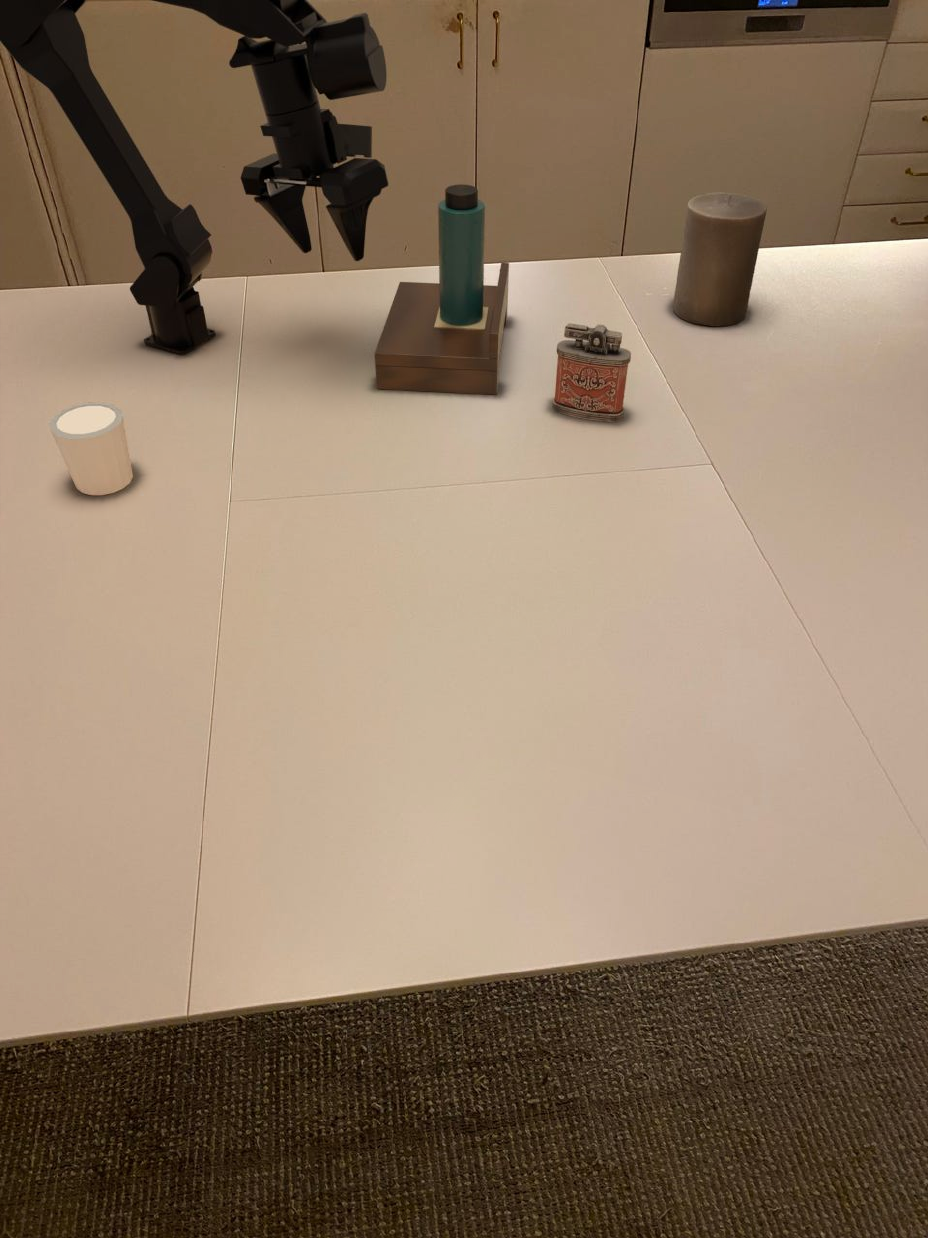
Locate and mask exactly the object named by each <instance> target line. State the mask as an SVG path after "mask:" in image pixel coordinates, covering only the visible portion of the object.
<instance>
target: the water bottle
mask: <svg viewBox="0 0 928 1238" xmlns="http://www.w3.org/2000/svg"><path fill="white" fill-rule="evenodd" d="M437 208H438V209H437V216H438V217H437V223H438V225H437V226H438V227H437V228H438V283H439V295H440V318H441V320H442V321H444V322H445V323H448V324H451V325H457V326H466V325H472V324H475V323H478V322H479V321H481V320H482V318H483V290H484V285H485V284H484V282H485V280H484V279H485V278H484V277H485V231H486V230H485V228H486V227H485V225H486V223H485V221H486V220H485V219H486V204H485V203H484V201H482V200H481V199H479V190H478V188H477V187H476V186H474V185H470V184H453V185H449V186H447V187H446V188H445V191H444V199H443V200H441V201H440V202H439V203H438V205H437Z"/></svg>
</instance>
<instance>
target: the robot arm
mask: <svg viewBox="0 0 928 1238" xmlns="http://www.w3.org/2000/svg"><path fill="white" fill-rule="evenodd" d="M151 1H152V2H157V3H162V4H166V5H171V6H175V7H180V8H185V9H190V10H193V11H194V12H195V11H196V12H198V13H200V14H203V15H204V16H206V17H207V18H209V19H210V20H211V21H213V22H215V23H216V24H217V25H219V26H221V27H223V28H226V29H228V30H230V31H232V32H234V33H237V34H240V35H242V36H241V37H240V38H238V39H237V46H236V48H235V51H234V53H233V54H232V56H231V58H230V60H229V61H228V64H229V67H230V68H232V69H237V68H243V67H249V66H250V68H251V70H252V73H253V77H254V80H255V84H256V87H257V91H258V94H259V98H260V100H261V105H262V107H263V108H262V109H263V111H264V114H265V117H266V121H267V122H266V123H263V124H261V125H260V126H259V127H260V130H261V133H262V136H263V137H271V138H272V142H273V145H274V148H275V153H271V154H269V155H266V156H265V157H262V158H259V159H257V160H256V161H252V162H250V163H249V164H247V165H244V166H243V168H242V171H241V174H240V180H241V183H242V187H243V190H244V193H245V195H246V196H247V195H248V196H254V197H253V201H254V202H255V203H258V204H259V205H260V206H261V207H262V208H263V209H264V210H265V211H266V212H267V213H268V214H269V215H270V217H271V218H272V219H273V220H274V221H275V222H276V223H277V224H278V226H280V228H281V229H282V230H283V231H284V232H285V233H286V235H288V237H289V238H290V239H291V241H293V243H294V244H295V245H296V246H297V247H298V249H299V250H300V251H301V252H302V253H303V254H308V253H310V252H311V251H312V250H313V249H312V248H313V247H312V241H311V233H310V230H309V226H308V221H307V217H306V212H305V207H304V201H303V198H304V194H305V191H306V187H312V188H313V187H314V188H321V192H322V194H323V196H324V197H325V198H326V200H327V201H328V202H329V203H328V204H327V205H325V208H326V211H327V212H328V215H329V216H330V218H331V220H332V222H333V224H334V226H335V228H336V229H337V231H338V233H339V235H340V237H341V239H342V241H343V243H344V245H345V247H346V249H347V251H348V252H349V254H350V255H351V257H352V259H353V261H355V262H360V261H361V260H363V259H364V258H365V257H364V256H365V247H366V246H365V245H366V231H367V220H368V215H369V214H368V213H369V209H370V206H371V204H372V202H373V200H374V199H375V198H376V197H379V196H380V195H381V193H382V190H383V189H385V188H387V187H389V180H388V176H387V175H388V174H387V170H386V167H385V164H383V163H382V162H381V161H379V160H378V159H376V158H372V157H373V126H371V125H361V124H349V123H339V122H338V119H337V117H336V115H334V114H333V111H330V108H321V105H320V102H319V98H318V94H319V95H324V96H325V97H326V99H328V100H329V101H334V100H340V99H345V98H351V97H352V98H353V97H357V96H362V95H367V94H368V95H369V94H373V93H379V92H384V91H385V89H386V85H387V74H388V73H387V64H386V63H387V62H386V57H385V51H384V48H383V45H382V44H380V40H379V38H378V35H377V33H376V31H375V29H374V27H372V25H371V23H370V18H369V14H368V13H367V12H361V13H357V14H354V15H352V16H350V17H348V18H344V19H339V20H333V21H327V19H326V18H325V17H324V16H323V15H322V14H321V13H320V12H319V11H318V10H317V9H316V8H315V7H314V6H313V5H312V4H311V2H309V0H151ZM87 2H88V0H0V43H1V45H2V46H3V47H4V48H5V49H6V51H7V52H8V53H9V55H10V56H11V57H12V59H14V61H15V62H16V63H17V65H19V67H20V68H21V69H22V70H24V71H25V72H26V73H28V74H29V75H30V76H31V77H33V78H34V79H35V80H36V81H38V82H39V83H41V84H42V85H43V86H45V87H46V88H47V89H48V90H49V91H50V92H51V94H52V96H53V97H54V99H55V100H56V102H57V104H58V105H59V107H60V108H61V110H62V111H63V113H64V115H65V116H66V118H67V120H68V121H69V123H70V125H71V126H72V127H73V129H74V131H75V132H76V134H77V135H78V137H79V138H80V140H81V142H82V144H83V145H84V147H85V149H86V150H87V151H88V153H89V155H90V157H91V158H92V159H93V160H92V161H94V163H95V164H96V166H97V168H98V169H99V171H100V172H101V174H102V175H103V177H104V179H105V180H106V182H107V184H108V185H109V187H110V188H111V191H112V192H113V194H114V195H115V197H116V198H117V200H118V201H119V203H120V205H121V206H122V208H123V209H124V211H125V212H126V214H127V216H128V218H129V221H130V223H131V230H132V236H133V241H134V242H133V243H134V247H135V250H136V254H137V255H138V257H139V259H140V262H141V264H142V266H143V268H144V269H143V270H142V271H141V273H140V274H139V275H138V277H137V278H136V279H135V281H134V282H133V283H132V284H131V285H130V287H129V291H130V293H131V295H132V296H133V298H134V300H135V302H136V303H137V305H139V306H144V307H145V311H146V314H147V318H148V322H149V327H150V331H151V334H150V335H148V336H146V337H145V338H144V339H143V343H144V345H147V346H151V347H155V348H158V349H162V350H165V351H169V352H172V353H175V354H178V355H185V354H187V353H189V352H190V351H193V350H194V349H195V348H197V347H199V346H200V345H202V344H203V343H205V342H206V341H209V340H210V339H212V338H213V337H214V336H216V330H214V329H211V328H208V324H207V319H206V314H205V309H204V306H203V305H202V303H201V302H202V301H201V297H200V292H199V291H197V290H195V288H194V287H195V285H196V284H197V283H198V282H200V281H201V280H202V277H203V272H204V271H205V270H206V269H207V267H209V266H210V265H209V264H210V263H211V260H212V254H213V247H212V244H211V241H210V240H209V239H210V237H212V233H210V232H209V230H207V229H206V228H205V227H204V225H203V223H202V222H201V219H200V218H199V215H198V213H197V210H196V208H194V206H193V205H192V204H191V203H189V204H188V205H186V206H185V207H183V208H182V207H180V206H179V205H177V203H175V202H173V200H171V199H169V197H168V196H167V195H166V194H165V192H164V190H163V189H162V187H161V185H160V184H159V182H158V180H157V179H156V177H155V175H154V173H153V172H152V170H151V168H150V167H149V165H148V163H147V162H146V159H144V156H143V155H142V153H141V152H140V149H139V148H138V146H137V145H136V143H135V142H134V140H133V138H132V136H131V134H130V133H129V131H128V129H127V128H126V126H125V125H124V123H123V120H122V119H121V118H120V117H119V115H118V113H117V111H116V109H115V107H114V106H113V104H112V102H111V100H110V99H109V98H108V96H107V93H105V91H104V89H103V88H102V86H101V84H100V82H99V81H98V79H97V77H96V76H95V74H94V72H93V70H92V68H91V65H90V60H89V54H88V49H87V41H86V36H85V34H84V31H83V28H82V26H81V24H80V22H79V20H78V17H77V15H76V14H77V13H78V12H79V11H80V10H81V9H82V7H84V5H85V4H86V3H87ZM263 38H264V39H265V38H267V40H262V41H261V40H260V41H257V40H256V39H263ZM317 93H318V94H317ZM356 156H363V158H361V157H356ZM348 157H350V158H352V159H350V160H348ZM347 160H348V161H347ZM343 162H344V163H343ZM341 163H342V164H341ZM336 164H339V165H337V166H335V167H334V165H336Z"/></svg>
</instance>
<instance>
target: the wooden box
mask: <svg viewBox="0 0 928 1238" xmlns="http://www.w3.org/2000/svg"><path fill="white" fill-rule="evenodd" d="M509 277H510V262H500V268H499V273H498V279H497V285H488V284H484V290H483V318H482V320H481V321H479V322H478V323H475V324H472V325H466V326H457V325H451V324H448V323H445V322H444V321H442V320H441V318H440V295H439V282H417V281H416V282H415V281H413V282H412V281H399V283H398V285H397V289H396V292H395V295H394V297H393V300H392V303H391V305H390V309H389V311H388V314H387V317H386V319H385V323H384V325H383V328H382V331H381V334H380V337H379V339H378V342H377V345H376V348H375V351H374V366H375V383H376V389H377V390H391V391H393V390H394V391H411V392H412V391H414V392H432V393H434V392H436V393H451V394H452V393H455V394H472V395H473V394H475V395H476V394H477V395H492V396H493V395H495V396H496V395H497V394H498V388H499V361H500V355H501V348H502V342H503V334H504V328H505V327H507V324H508V323H507V322H508V307H509V281H510V280H509Z"/></svg>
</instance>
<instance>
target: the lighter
mask: <svg viewBox="0 0 928 1238" xmlns="http://www.w3.org/2000/svg"><path fill="white" fill-rule="evenodd" d="M563 334H564V335H563V337H564V338H566V339H568V340H566V339H564V340H561V341H559V342H558V343H557V345H556V354H557V364H556V375H555V376H556V377H555V389H554V397H553V399H552V410H553V411H554V412H556V413H558V414H563V415H566V416H570V417H574V418H579V419H583V420H592V421H597V422H610V423H616V422H619V421H621V420H622V419H623V418H624V411H625V408H624V400H625V392H626V385H627V376H628V368H629V364H630V363H631V359H632V352H631V351H630V350H628V349H627V348H625V347H621V344H622V339H623V333H622V332H621V331H615V330H608V328H607V327H606V326H605V324H597V325H595V327H590V326H589V325H584V324H578V323H572V322H571V323H570V322H569V323H567V324H565V326H564V332H563ZM571 339H572V340H571Z"/></svg>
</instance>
